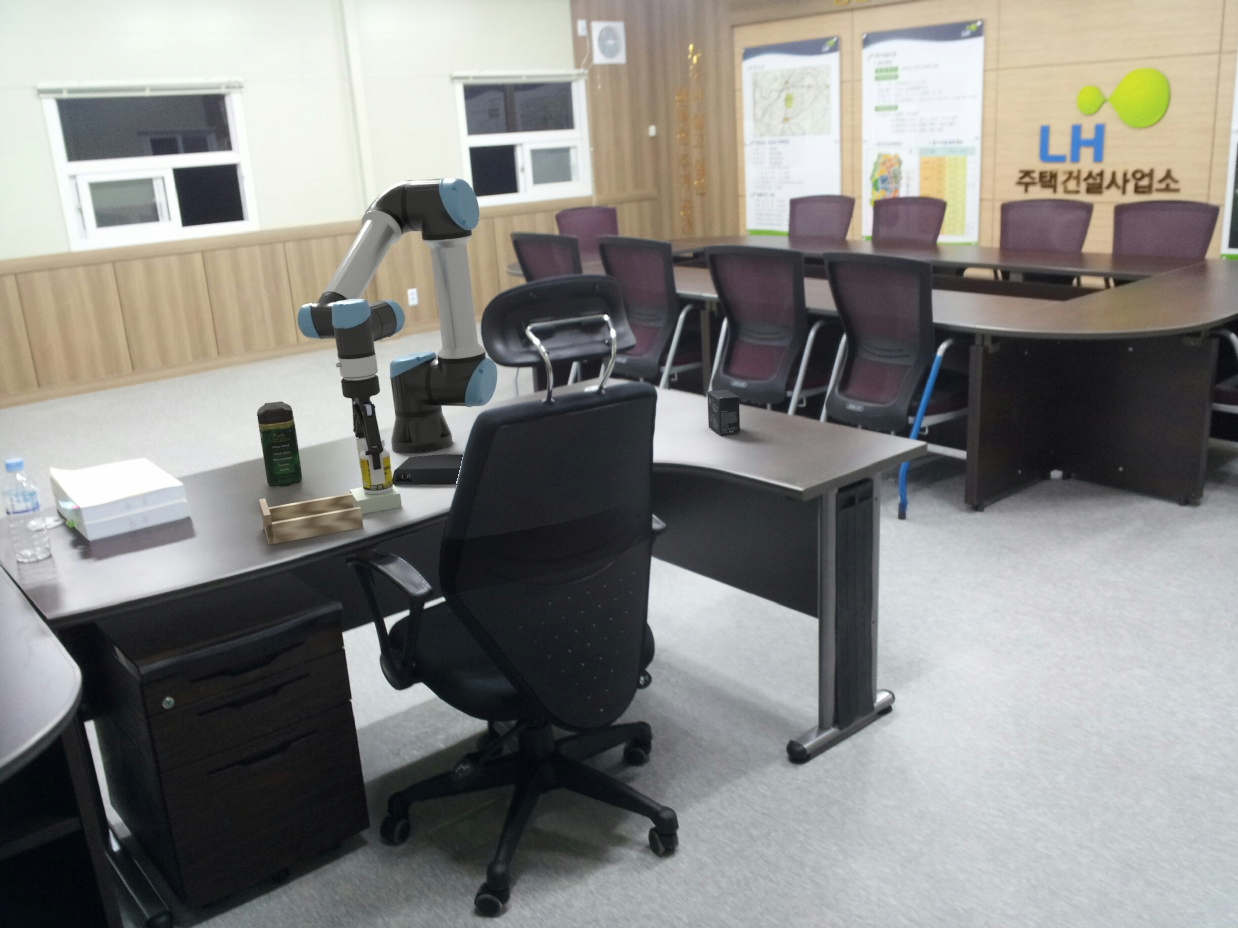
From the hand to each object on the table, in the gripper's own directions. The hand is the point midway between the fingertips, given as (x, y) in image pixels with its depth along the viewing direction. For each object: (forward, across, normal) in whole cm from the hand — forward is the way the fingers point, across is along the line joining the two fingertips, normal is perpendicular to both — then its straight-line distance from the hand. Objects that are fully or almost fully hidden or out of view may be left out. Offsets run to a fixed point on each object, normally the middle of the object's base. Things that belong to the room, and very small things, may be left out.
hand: (372, 475), depth 227 cm
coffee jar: (+7, -29, -16) cm, 34 cm away
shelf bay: (+7, +7, -14) cm, 17 cm away
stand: (+7, 0, 0) cm, 7 cm away
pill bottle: (+4, 0, +1) cm, 4 cm away
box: (+7, -10, +88) cm, 89 cm away
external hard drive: (+7, -13, +17) cm, 22 cm away
